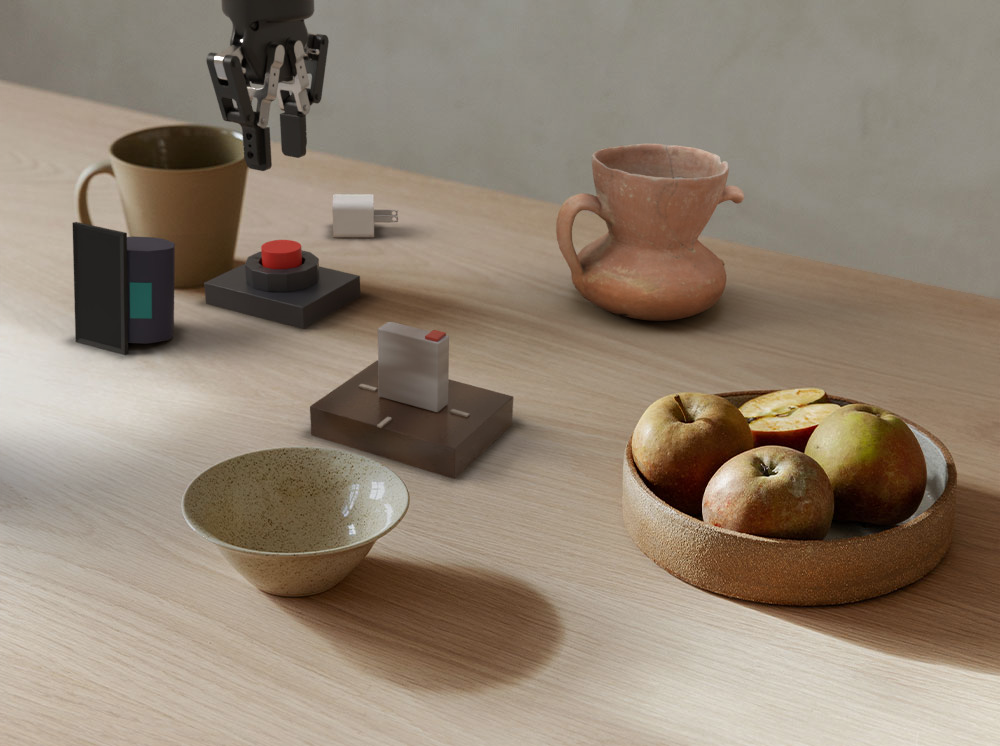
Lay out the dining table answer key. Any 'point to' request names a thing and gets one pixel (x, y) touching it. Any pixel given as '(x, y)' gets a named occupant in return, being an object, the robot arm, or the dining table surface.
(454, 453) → the brown base plate
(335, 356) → the dining table surface
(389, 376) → the block
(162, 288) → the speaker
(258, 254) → the switch block
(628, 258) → the ceramic jug
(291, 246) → the power button
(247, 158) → the robot arm
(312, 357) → the dining table surface
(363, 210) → the usb wall charger
